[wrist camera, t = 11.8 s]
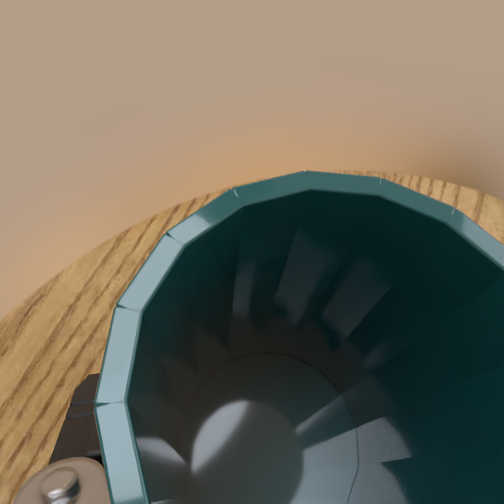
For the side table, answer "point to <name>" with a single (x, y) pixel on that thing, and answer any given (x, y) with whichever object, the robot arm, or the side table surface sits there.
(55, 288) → the side table surface
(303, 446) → the cutlery cup
